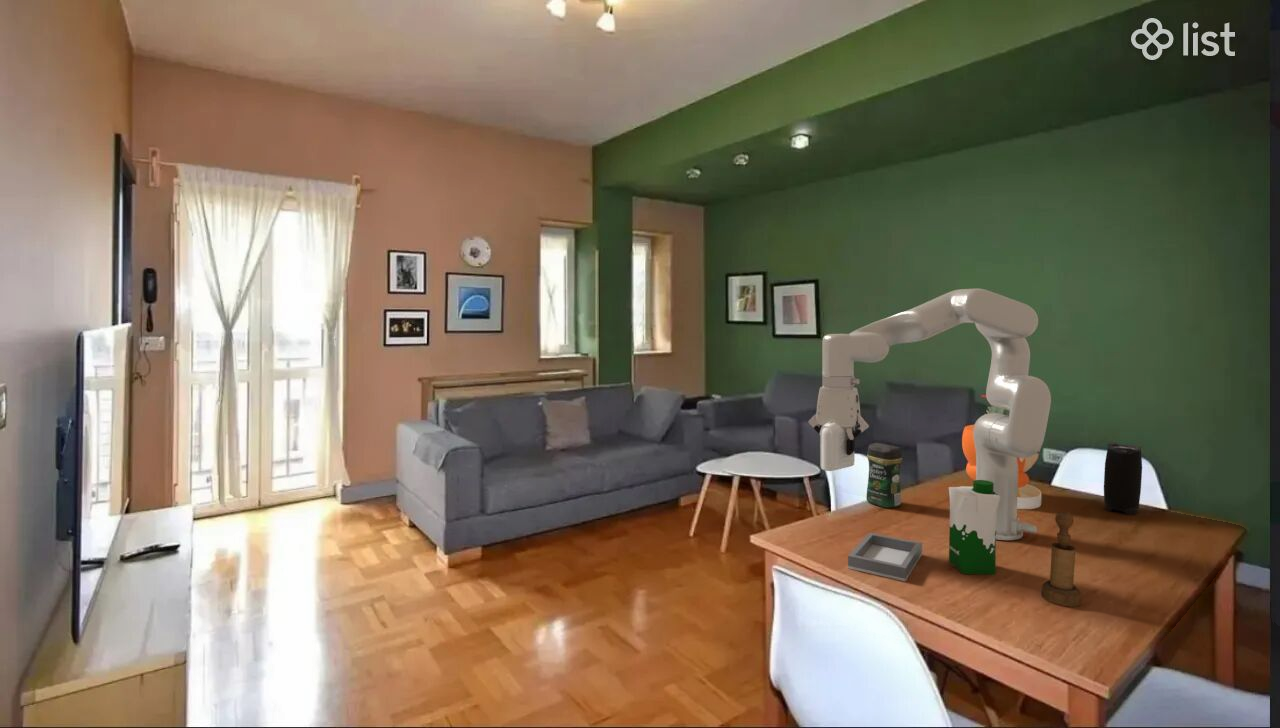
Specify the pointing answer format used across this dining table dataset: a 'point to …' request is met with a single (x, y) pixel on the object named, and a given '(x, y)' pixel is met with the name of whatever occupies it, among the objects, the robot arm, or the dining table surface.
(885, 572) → the tray
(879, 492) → the coffee jar
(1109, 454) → the portable speaker
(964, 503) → the milk carton
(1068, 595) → the mortar and pestle
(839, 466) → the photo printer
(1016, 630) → the dining table surface
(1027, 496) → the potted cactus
